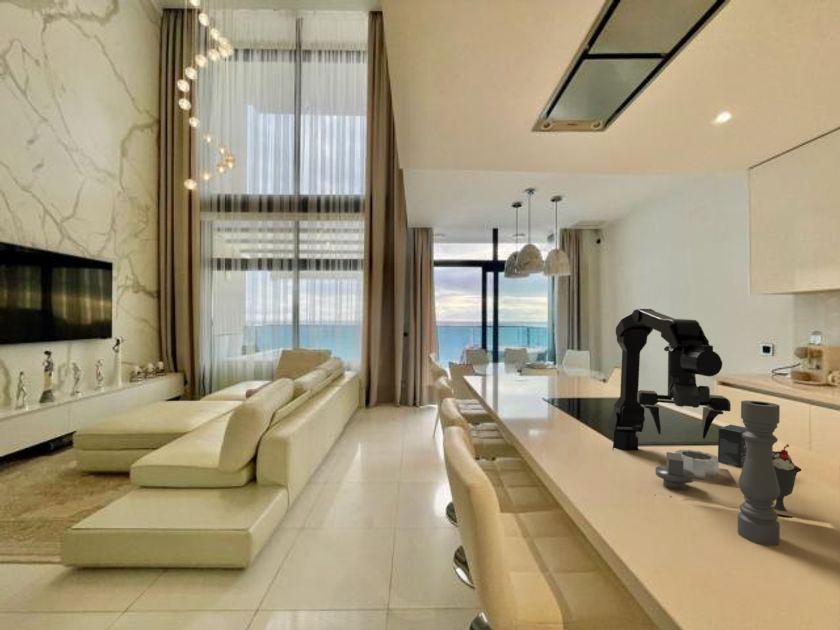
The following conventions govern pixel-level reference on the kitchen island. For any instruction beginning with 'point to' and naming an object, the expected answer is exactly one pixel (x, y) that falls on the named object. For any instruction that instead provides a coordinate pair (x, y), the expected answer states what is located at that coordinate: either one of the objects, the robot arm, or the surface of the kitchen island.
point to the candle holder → (759, 474)
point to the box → (732, 445)
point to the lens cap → (674, 472)
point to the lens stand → (723, 478)
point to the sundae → (784, 477)
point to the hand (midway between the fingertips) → (680, 436)
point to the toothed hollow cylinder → (700, 463)
